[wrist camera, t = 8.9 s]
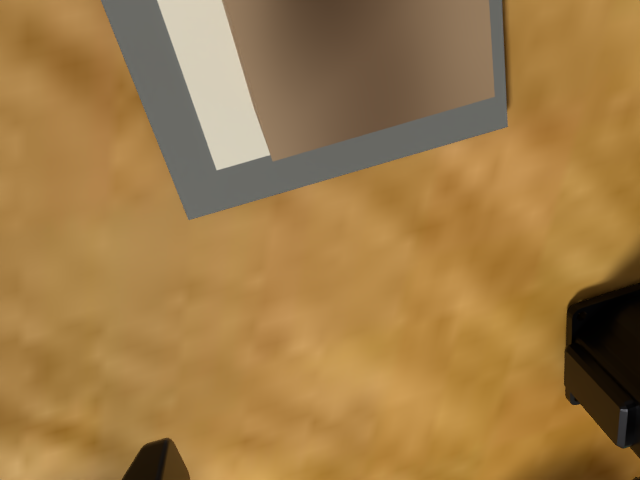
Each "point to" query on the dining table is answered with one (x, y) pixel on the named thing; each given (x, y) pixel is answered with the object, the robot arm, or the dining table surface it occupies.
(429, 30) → the cube
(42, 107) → the dining table surface
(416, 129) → the coaster
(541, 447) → the dining table surface
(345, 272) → the dining table surface
